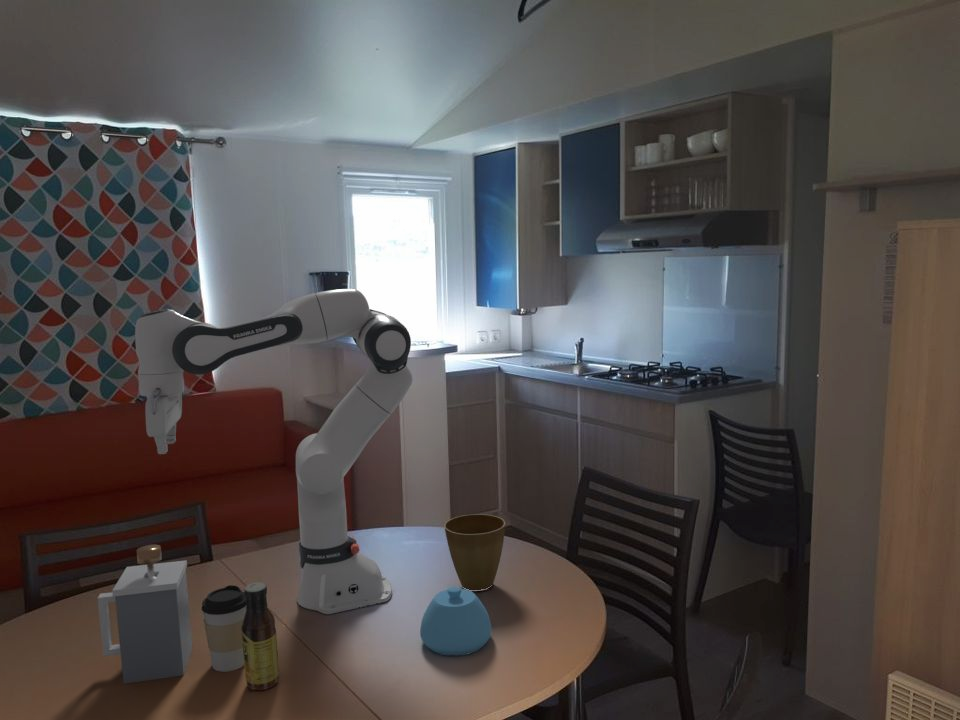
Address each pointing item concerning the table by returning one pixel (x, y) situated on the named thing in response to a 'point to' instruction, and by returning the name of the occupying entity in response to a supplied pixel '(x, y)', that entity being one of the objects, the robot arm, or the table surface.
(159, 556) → the press plunger
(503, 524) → the plant pot
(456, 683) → the table surface
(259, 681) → the sauce bottle
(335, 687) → the table surface
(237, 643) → the coffee cup
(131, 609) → the press jug
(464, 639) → the sugar bowl
